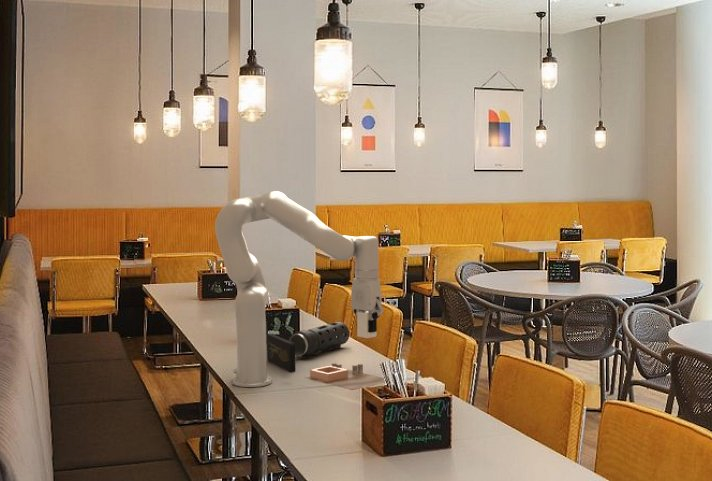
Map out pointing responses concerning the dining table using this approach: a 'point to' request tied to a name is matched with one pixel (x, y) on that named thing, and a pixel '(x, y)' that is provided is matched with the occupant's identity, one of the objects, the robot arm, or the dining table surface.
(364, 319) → the white rectangular block
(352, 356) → the dining table surface
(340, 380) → the board
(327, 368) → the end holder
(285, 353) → the nameplate
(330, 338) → the muzzle brake
